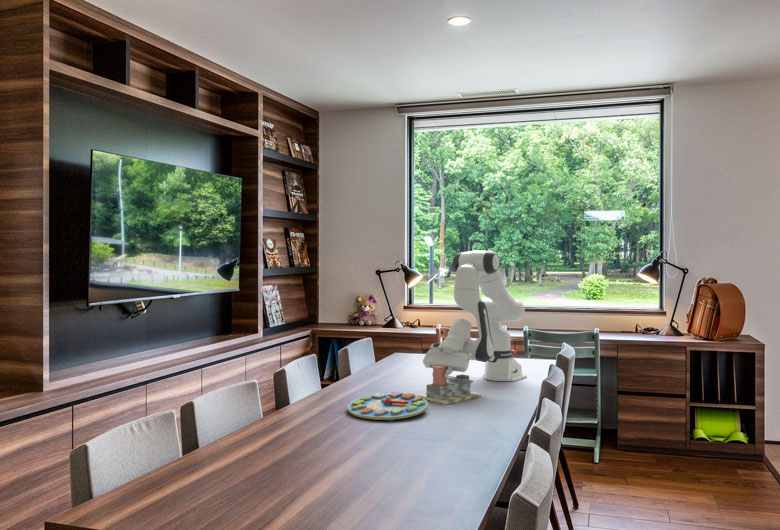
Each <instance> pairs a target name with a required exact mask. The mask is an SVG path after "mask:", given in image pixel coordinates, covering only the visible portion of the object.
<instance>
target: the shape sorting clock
mask: <svg viewBox="0 0 780 530" xmlns="http://www.w3.org/2000/svg"><path fill="white" fill-rule="evenodd" d="M428 408H429V402H428V400H425V399H423V397H418V395H415V393H409V392H408V393H403V392H399V391H391V392H390V393H383V392H376V393H374V394H371V395H366V396H363V397H362V396H361V397H358V398H356V399H354V400H352V401H351V402H349V404H348V405H347V411H348V412H349V413H350V414H351V415H353V416H354V417H358V418H362V419H368V420H379V421H381V420H383V421H387V422H394V421H398V420H401V419H406V418H411V417H414V416H417V415H420V414H422V413H425V411H427V409H428Z"/></svg>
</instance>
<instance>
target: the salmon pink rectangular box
mask: <svg viewBox="0 0 780 530" xmlns="http://www.w3.org/2000/svg"><path fill="white" fill-rule="evenodd" d="M446 371H447V366H440V365H438V366H434V367H433V368H432V373H433V375H432V384H433V386H438V387H440V386H445V385H447V381H448V380H447V378H443V376H442V375H443V373H444V372H446Z"/></svg>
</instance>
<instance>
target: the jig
mask: <svg viewBox="0 0 780 530" xmlns="http://www.w3.org/2000/svg"><path fill="white" fill-rule="evenodd" d="M471 384H475V383H474V380H472V379H470V375H467V374H462V373H461V374H456V375H455V376H452V375H448V377H447V385H445V386H440V387H438V386H433V383H429V384H426V393H422V394H418V395H417V396H418V397H423V399H426V401H428V400H430V401H429V402H433V401H434V402H433V403H437V402H438V404H441V403H442V404H441V405H445V404H447V405H451V404H450V403H452V404H455V403H454V402H456V403H460V402H464V401H463V400H465V401H468V400H467V399H469V400H472V399H471V398H474V399H477V398H476V397H478V398H481V397H480V396H482V393H479V392H476V391H475V392H474V391H471ZM459 401H460V402H459Z"/></svg>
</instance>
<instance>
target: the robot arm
mask: <svg viewBox="0 0 780 530" xmlns="http://www.w3.org/2000/svg"><path fill="white" fill-rule="evenodd" d="M452 268H453V271H454V272H455V277H454V287H453V290H454V291H453V297H454V302H455V304H456V305H457V306H458V307H459V308H460V309H462V310H464V311H466V312H468V313H470V314H471V315H473V316H474V318H475V320H476V325H477V332H478V338H477V337H475V338H474V337H471V331H472V327H473V326H472V325H473V324H472V323H471V321H469V320H467V319H465V318H458V319H455V320H454V321H453V323H452V324H451V326H450V328H449V330H448V332H447V336H446V338H445V339H444V340H443V341H440V342H434V343H432V344H431V345H430V349H429V350H428V351H426V353H425V355H424V357H423V360H422V364H423V365H424V367H425V368H426V369H433V367H434V366H438V365H440V366H447V371H446V372H444V373H443V375H442V376H443V378H447V377H448V376H451V374H452V373H453V372H459V373H460V372H461V373H465V372H467V370H468V368H469V363H470V361H477V362H482V363H484V365H485V366H484V373H483V374H482V376H483V379H485V380H487V381H494V382H517V381H519V380H521V379H526V378H527V377H528V375H527V374H524V373H523V369H522V368H523V367H522V364H520V362H518V361H517V360H516V359H515V358H514V356H513V355H516V353H517V350H515V349H511V341H512V340H511V338H512V337H511V336H512V335H511V334H510V332H509V331H508V330H507V329H505V328H504V327H503V325H502V323H501V322H505V323H506V322H507V323H515V322H520V321H521V320H522V319H523V318H524V317H525V312H526V311H525V310H526V309H525V305H524V304H523V302H521V300H518V299H517V298H516V297H514V296H513V295H512V293H510V291H509V290H508V289H507V287H506V286H505V282H504V280H503V276H502V273H501V269H500V257H499V255H498V254H497V252H495V251H493V250H471V251H461V252H457V253H455V254H454V256H453V258H452ZM480 290H481V293H482V294H483V295H484V297H486V298H482V297H481V295H480ZM431 373H432V376H433V372H431Z"/></svg>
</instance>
